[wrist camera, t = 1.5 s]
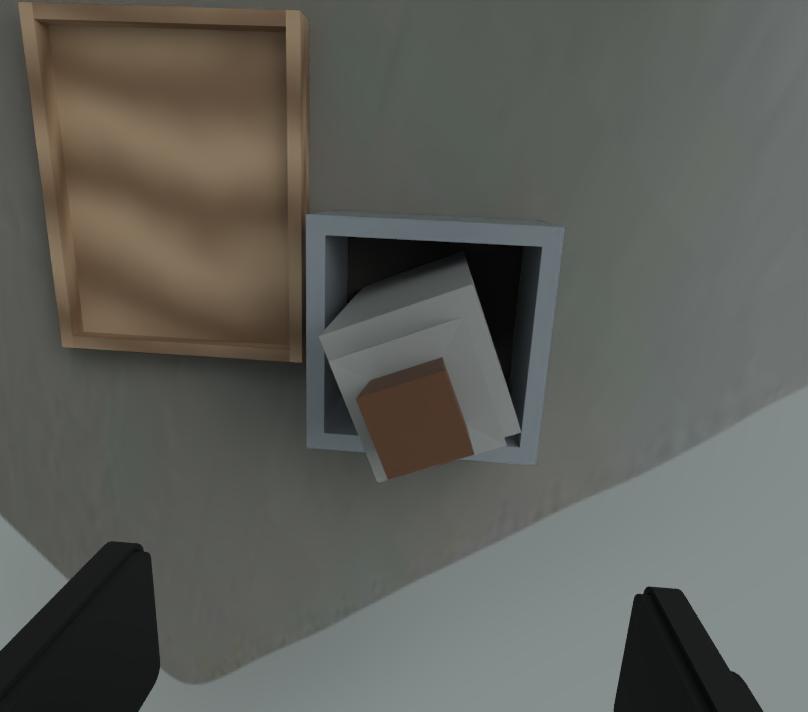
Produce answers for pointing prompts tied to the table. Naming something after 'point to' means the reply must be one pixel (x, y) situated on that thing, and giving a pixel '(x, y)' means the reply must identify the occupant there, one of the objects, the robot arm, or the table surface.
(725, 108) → the table surface
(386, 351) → the perfume bottle
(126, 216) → the tray
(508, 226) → the grey storage bin
